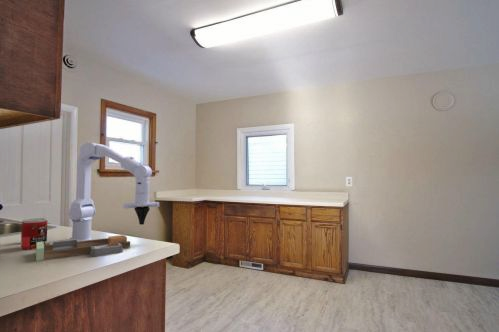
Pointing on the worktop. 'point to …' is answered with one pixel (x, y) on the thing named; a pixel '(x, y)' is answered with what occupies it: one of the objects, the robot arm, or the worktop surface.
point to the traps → (94, 251)
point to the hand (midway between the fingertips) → (141, 224)
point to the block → (116, 240)
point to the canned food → (32, 232)
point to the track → (78, 248)
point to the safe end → (40, 251)
